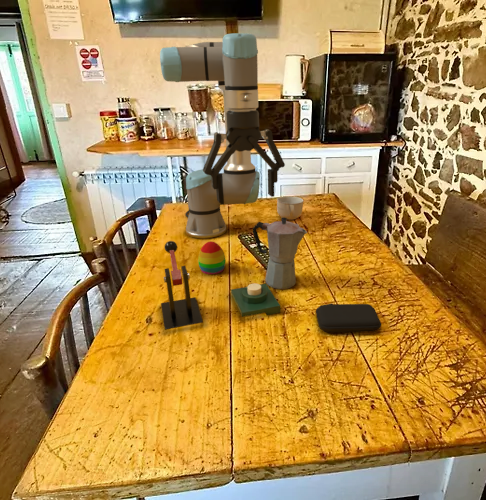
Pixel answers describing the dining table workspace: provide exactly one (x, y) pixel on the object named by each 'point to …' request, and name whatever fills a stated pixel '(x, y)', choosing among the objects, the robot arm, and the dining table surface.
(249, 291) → the button
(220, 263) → the decorative egg
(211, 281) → the dining table surface
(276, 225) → the moka pot
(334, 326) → the carrying case
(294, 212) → the teacup
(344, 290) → the dining table surface
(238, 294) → the control block
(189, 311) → the switch bracket
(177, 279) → the switch lever
